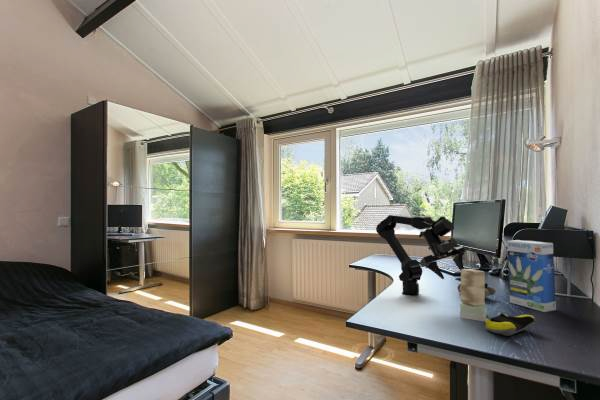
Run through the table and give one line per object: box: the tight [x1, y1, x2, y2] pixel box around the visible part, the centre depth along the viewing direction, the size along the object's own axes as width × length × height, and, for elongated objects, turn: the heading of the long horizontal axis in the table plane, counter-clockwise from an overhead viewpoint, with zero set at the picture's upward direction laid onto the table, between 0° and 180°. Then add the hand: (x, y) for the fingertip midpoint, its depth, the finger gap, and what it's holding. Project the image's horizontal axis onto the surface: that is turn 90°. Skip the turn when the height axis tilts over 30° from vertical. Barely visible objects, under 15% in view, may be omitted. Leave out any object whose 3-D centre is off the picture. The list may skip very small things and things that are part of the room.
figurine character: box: [454, 277, 497, 300], centre depth 131 cm, size 7×8×15 cm
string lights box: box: [506, 239, 557, 313], centre depth 117 cm, size 13×8×26 cm, turn 21°
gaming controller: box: [484, 312, 536, 337], centre depth 93 cm, size 15×6×10 cm
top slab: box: [459, 302, 486, 316], centre depth 108 cm, size 7×7×2 cm
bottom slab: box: [459, 308, 487, 322], centre depth 108 cm, size 8×8×2 cm
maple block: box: [460, 268, 486, 306], centre depth 109 cm, size 6×6×12 cm
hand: (453, 275), depth 119 cm, fingers open, 9 cm apart
